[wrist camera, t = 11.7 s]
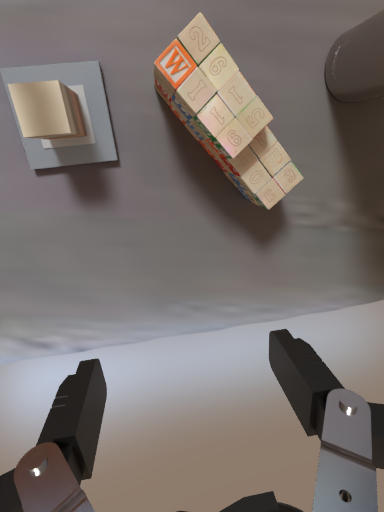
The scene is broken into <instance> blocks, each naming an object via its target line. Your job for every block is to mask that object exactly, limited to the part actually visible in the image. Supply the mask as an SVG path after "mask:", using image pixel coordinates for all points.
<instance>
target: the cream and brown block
mask: <svg viewBox="0 0 384 512" xmlns="http://www.w3.org/2000/svg"><path fill="white" fill-rule="evenodd" d="M8 87H9V90H10V94H11V97H12V100H13V104H14V107H15V110H16V114H17V117H18V120H19V124H20V127H21V130H22V134H23V137H25V138H36V139H47V140H52V139H62V138H73V137H83V136H87V134H86V130H85V125H84V120H83V116H82V111H81V107H80V102H79V98H78V94H76V93H75V92H74V91H72V90H71V89H70V88H68V87H67V86H66V85H64V84H63V83H61V82H60V81H59V80H53V81H41V82H28V83H15V84H8Z"/></svg>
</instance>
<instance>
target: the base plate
mask: <svg viewBox="0 0 384 512" xmlns="http://www.w3.org/2000/svg"><path fill="white" fill-rule="evenodd" d="M0 72H1V75H2V78H3V82H4V85H5V88H6V91H7V94H8V98H9V101H10V104H11V107H12V110H13V114H14V117H15V120H16V123H17V126H18V130H19V133H20V136H21V139H22V142H23V146H24V149H25V152H26V155H27V158H28V162H29V165H30V168H31V170H32V169H41V168H50V167H59V166H68V165H77V164H86V163H95V162H104V161H113V160H118V156H117V150H116V145H115V140H114V135H113V130H112V125H111V119H110V114H109V109H108V104H107V99H106V93H105V88H104V83H103V78H102V73H101V68H100V63H99V61H87V62H75V63H62V64H50V65H37V66H25V67H12V68H0ZM53 80H59V81H60V82H61V83H63V84H64V85H66V86H67V87H68V88H70V89H71V90H72V91H74V92H75V93H76V94H78V98H79V102H80V107H81V111H82V116H83V120H84V125H85V130H86V134H87V136H83V137H73V138H62V139H52V140H47V139H36V138H25V137H23V134H22V130H21V127H20V124H19V120H18V117H17V114H16V110H15V107H14V104H13V100H12V97H11V94H10V90H9V87H8V84H15V83H28V82H41V81H53Z"/></svg>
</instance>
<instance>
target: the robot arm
mask: <svg viewBox="0 0 384 512" xmlns="http://www.w3.org/2000/svg"><path fill="white" fill-rule="evenodd" d="M325 78H326V84H327V86H328V89H329V91H330V92H331V94H332V95H333V96H334V97H335V98H336V99H338V100H340V101H342V102H347V103H350V102H357V101H361V100H365V99H369V98H374V97H378V96H383V95H384V10H382V11H381V12H379V13H377V14H376V15H374V16H372V17H371V18H369V19H367V20H366V21H364V22H362V23H361V24H359V25H357V26H356V27H354V28H353V29H351V30H349V31H348V32H346V33H344V34H343V35H342V36H341V37H340V38H339V39H338V40H337V41H336V42H335V44H334V45H333V47H332V48H331V50H330V52H329V55H328V58H327V61H326V67H325ZM269 361H270V365H271V368H272V370H273V372H274V374H275V376H276V378H277V380H278V382H279V384H280V385H281V387H282V389H283V391H284V393H285V395H286V397H287V398H288V400H289V402H290V404H291V406H292V408H293V410H294V411H295V413H296V415H297V417H298V419H299V421H300V422H301V425H302V426H303V428H304V430H305V432H306V434H307V436H313V435H318V437H319V439H320V441H321V447H320V454H319V462H318V469H317V477H316V485H315V492H314V499H313V507H312V512H378V505H377V478H376V468H380V469H384V404H376V403H369V402H366V401H365V400H364V399H363V398H362V397H361V396H360V395H358V394H357V393H355V392H353V391H350V390H347V389H345V388H344V387H343V386H342V385H341V384H340V382H339V381H338V380H337V378H336V377H335V376H334V375H333V374H332V372H331V371H330V370H329V368H328V367H327V366H326V364H325V363H324V362H322V359H321V358H320V357H319V356H318V355H317V354H316V352H315V351H314V349H313V348H312V347H311V346H310V345H309V344H308V343H306V342H305V341H303V340H301V339H300V338H297V339H294V338H293V337H292V335H291V334H290V333H289V331H288V330H287V329H282V330H276V331H271V332H270V334H269ZM106 396H107V389H106V382H105V379H104V375H103V371H102V368H101V364H100V361H99V359H91V360H85V361H81V362H80V363H79V366H78V368H77V372H76V374H74V375H68V377H67V378H66V379H65V380H64V381H63V383H62V384H61V385H60V387H59V389H58V392H57V394H56V397H55V399H54V402H53V404H52V408H51V409H50V412H49V414H48V417H47V419H46V422H45V424H44V427H43V429H42V432H41V434H40V437H39V439H38V442H37V444H36V446H35V447H34V448H32V449H30V450H29V451H28V452H27V453H26V454H25V455H24V456H23V457H22V458H21V459H20V461H19V462H18V464H17V466H16V468H14V469H13V470H11V471H9V472H7V473H5V474H3V475H1V476H0V512H95V511H94V509H93V507H92V505H91V503H90V502H89V500H88V498H87V496H86V494H85V493H84V491H83V490H82V489H81V488H80V483H81V480H85V479H90V478H91V476H92V471H93V465H94V460H95V455H96V450H97V445H98V439H99V434H100V429H101V424H102V418H103V413H104V408H105V402H106ZM178 512H186V511H178ZM220 512H303V511H302V510H300V509H298V508H296V507H293V506H291V505H288V504H284V503H279V502H277V501H276V498H275V496H274V493H273V491H271V492H266V493H262V494H257V495H253V496H248V497H244V498H242V499H240V500H238V501H237V502H235V503H233V504H232V505H230V506H228V507H226V508H225V509H223V510H221V511H220Z"/></svg>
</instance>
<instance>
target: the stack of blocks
mask: <svg viewBox="0 0 384 512" xmlns="http://www.w3.org/2000/svg"><path fill="white" fill-rule="evenodd" d="M154 78H155V84H154V86H155V89H156V90H157V92H158V93H159V94H160V95H161V97H162V98H163V99H164V100H165V102H166V103H167V104H168V105H169V107H170V109H171V110H172V111H173V112H174V113H175V115H176V116H177V117H178V118H179V120H180V121H181V122H182V123H183V124H184V126H185V127H186V128H187V129H188V131H189V132H190V133H191V134H192V135H193V137H194V138H195V139H196V140H197V141H199V143H200V144H201V145H202V146H203V147H204V149H205V150H206V151H207V152H208V154H209V155H210V156H212V158H213V159H214V160H215V161H216V163H217V164H218V165H219V166H220V167H221V169H222V170H223V172H224V174H225V175H226V176H227V177H228V178H229V180H230V181H231V182H232V183H233V184H234V186H236V188H237V189H238V190H239V191H240V193H241V194H242V195H243V196H244V197H245V198H246V199H247V200H249V201H250V202H252V203H254V204H256V205H258V206H262V207H264V208H265V209H267V210H269V209H270V208H271V207H273V206H274V205H275V204H276V203H277V202H278V201H279V200H280V199H281V198H283V197H284V196H285V194H286V193H288V192H289V191H290V190H291V189H292V188H293V187H294V186H295V185H296V184H298V183H299V182H300V181H301V180H302V179H303V176H302V175H301V173H300V172H299V171H298V169H297V168H296V166H295V165H294V164H293V162H292V161H291V159H290V157H289V156H288V155H287V153H286V152H285V150H284V149H283V148H282V146H281V145H280V143H279V142H278V141H277V139H276V138H275V136H274V135H273V133H272V132H271V131H270V130H269V128H268V127H267V124H268V123H269V122H271V121H272V119H273V117H272V115H271V114H270V113H269V111H268V110H267V109H266V107H265V106H264V104H263V103H262V101H261V100H260V99H259V97H258V96H256V94H255V93H254V91H253V90H252V88H251V87H250V86H249V84H248V83H247V81H246V80H245V78H244V77H243V76H242V74H241V73H240V72H239V68H238V67H237V65H236V64H235V62H234V61H233V59H232V58H231V57H230V55H229V54H228V52H227V51H226V49H225V48H224V46H223V45H222V44H221V43H220V40H219V38H218V37H217V35H216V34H215V32H214V31H213V29H212V28H211V26H210V25H209V23H208V22H207V20H206V19H205V18H204V16H203V15H202V13H201V12H200V13H198V15H197V16H196V17H195V18H194V19H193V20H192V21H191V22H190V23H189V24H188V25H187V27H186V28H185V29H184V30H183V31H182V32H181V33H180V34H179V35H178V38H177V39H175V40H174V41H173V42H172V43H171V44H170V45H169V46H168V47H167V49H166V50H165V51H164V52H163V53H162V54H161V55H160V56H159V57H158V59H157V60H156V61H155V62H154Z"/></svg>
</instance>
